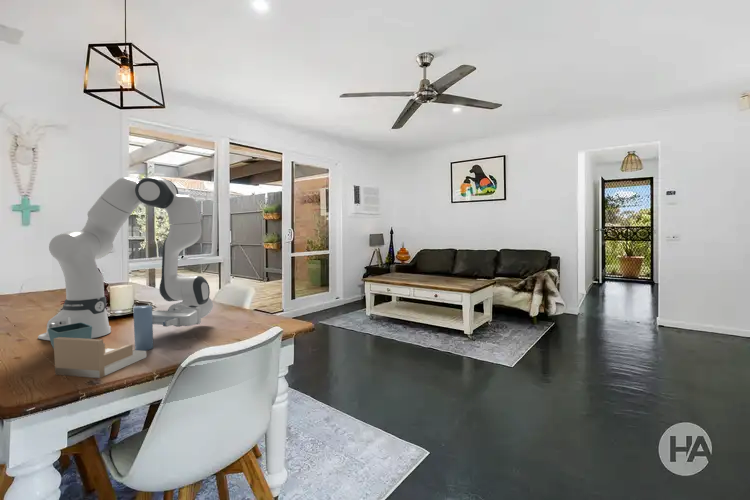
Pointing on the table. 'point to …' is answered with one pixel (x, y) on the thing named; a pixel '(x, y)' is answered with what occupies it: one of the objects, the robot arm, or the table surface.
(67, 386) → the table surface
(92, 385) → the table surface
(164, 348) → the table surface
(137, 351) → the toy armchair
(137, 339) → the light blue cylinder
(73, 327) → the flower pot
